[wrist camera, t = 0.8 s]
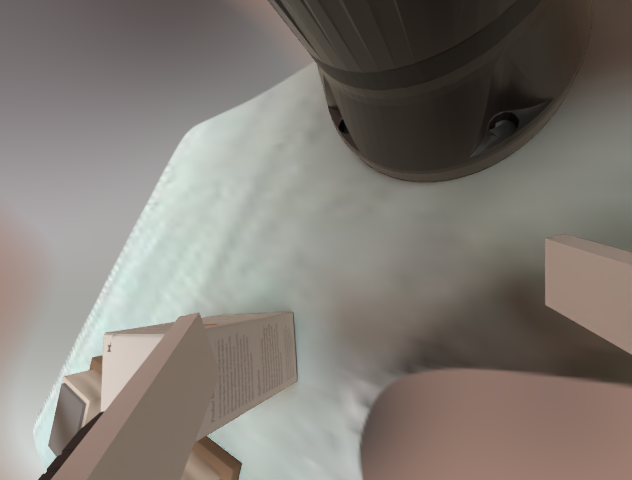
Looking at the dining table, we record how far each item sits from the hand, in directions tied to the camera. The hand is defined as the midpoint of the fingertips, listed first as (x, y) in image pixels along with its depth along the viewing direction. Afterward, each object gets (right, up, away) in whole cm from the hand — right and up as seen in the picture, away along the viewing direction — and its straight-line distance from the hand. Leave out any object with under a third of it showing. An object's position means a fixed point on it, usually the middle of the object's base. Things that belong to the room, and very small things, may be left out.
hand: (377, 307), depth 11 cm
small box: (-7, -7, +15) cm, 18 cm away
